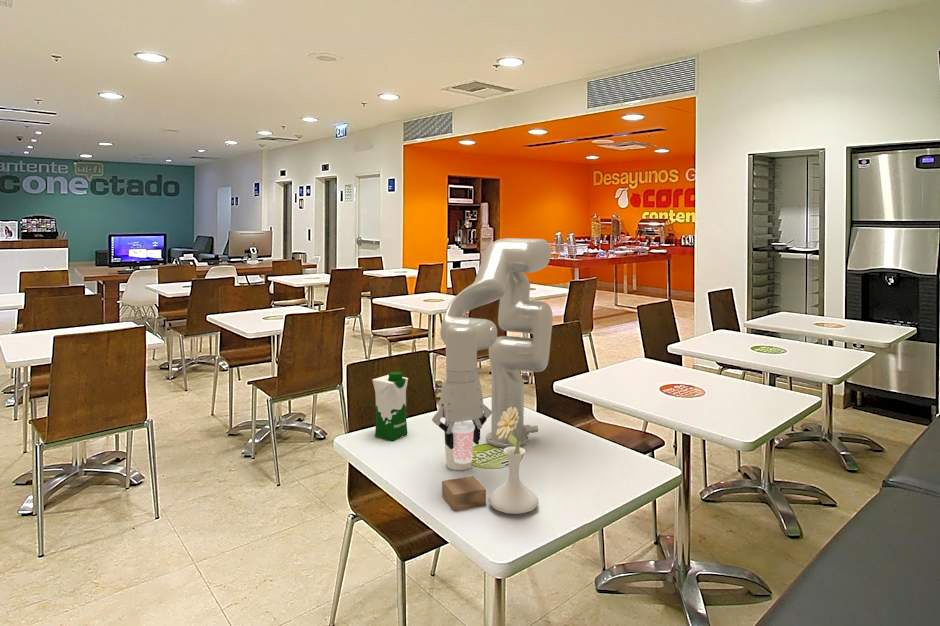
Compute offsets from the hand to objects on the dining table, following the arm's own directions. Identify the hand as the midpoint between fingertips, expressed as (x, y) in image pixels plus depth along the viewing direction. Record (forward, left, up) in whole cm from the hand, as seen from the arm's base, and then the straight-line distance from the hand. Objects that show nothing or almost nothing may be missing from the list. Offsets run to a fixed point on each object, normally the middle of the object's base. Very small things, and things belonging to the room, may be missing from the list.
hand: (462, 444), depth 157 cm
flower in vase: (-6, +17, -11) cm, 21 cm away
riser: (+3, +9, -11) cm, 14 cm away
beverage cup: (0, 0, -4) cm, 4 cm away
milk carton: (+8, -40, -11) cm, 42 cm away
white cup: (-3, -11, -11) cm, 16 cm away
